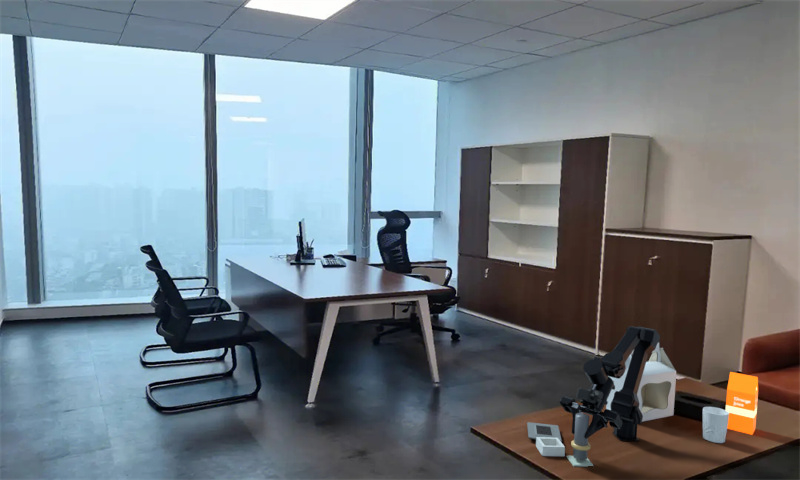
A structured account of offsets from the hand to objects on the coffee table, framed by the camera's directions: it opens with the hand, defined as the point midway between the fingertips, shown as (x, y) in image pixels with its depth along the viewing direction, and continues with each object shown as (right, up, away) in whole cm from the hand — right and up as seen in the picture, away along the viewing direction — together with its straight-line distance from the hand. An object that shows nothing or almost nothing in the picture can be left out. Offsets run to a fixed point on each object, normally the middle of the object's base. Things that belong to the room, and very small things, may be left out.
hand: (578, 435), depth 166 cm
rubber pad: (+1, -8, +1) cm, 9 cm away
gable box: (+38, -8, +45) cm, 59 cm away
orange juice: (+69, -9, +33) cm, 77 cm away
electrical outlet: (-5, -8, +20) cm, 22 cm away
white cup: (+54, -9, +23) cm, 59 cm away
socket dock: (-7, -8, +8) cm, 13 cm away
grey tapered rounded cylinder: (+1, -7, +1) cm, 7 cm away
